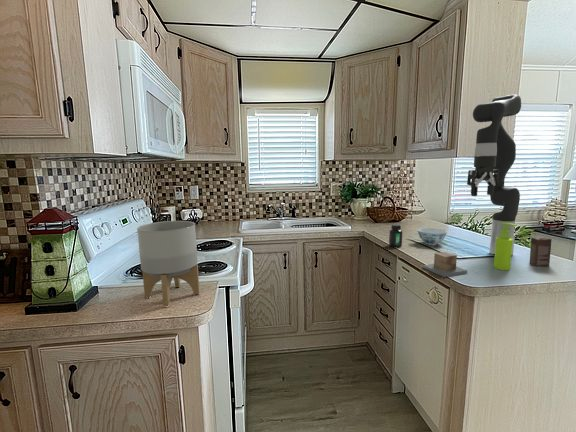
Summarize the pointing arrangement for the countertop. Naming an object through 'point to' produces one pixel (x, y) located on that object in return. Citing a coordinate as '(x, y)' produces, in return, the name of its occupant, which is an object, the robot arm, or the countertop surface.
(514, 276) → the countertop surface
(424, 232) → the chinaware
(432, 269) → the slate tile
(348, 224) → the countertop surface
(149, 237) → the planter
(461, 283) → the countertop surface
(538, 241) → the box
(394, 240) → the supplement bottle
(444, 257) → the walnut cube
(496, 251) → the soap dispenser
